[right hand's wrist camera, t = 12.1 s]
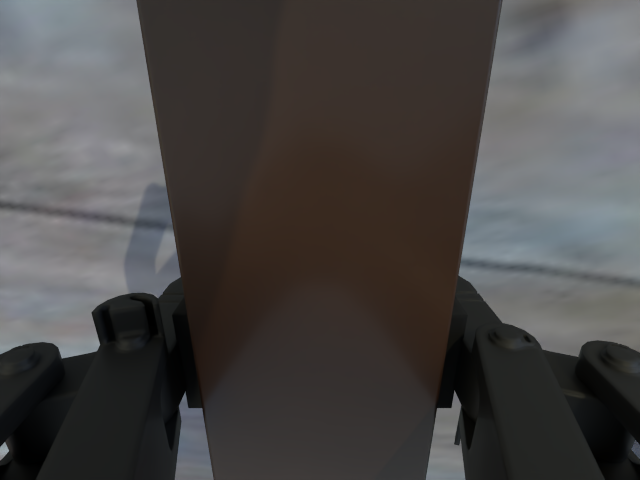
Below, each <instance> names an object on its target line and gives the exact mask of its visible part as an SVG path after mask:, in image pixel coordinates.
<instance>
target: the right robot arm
mask: <svg viewBox="0 0 640 480" xmlns="http://www.w3.org/2000/svg"><path fill="white" fill-rule="evenodd" d="M92 316H93V320H94V324H95V327H96V331H97V334H98V338H99V342H100V346H99V349H98V351H96V352H92V353H88V354H83V355H78V356H73V357H68V358H63V359H62V358H61V355H60V352H59V349H58V347H57V346H55V345H54V344H52V343H45V342H40V343H32V344H25V345H23V346H18V347H15V348H13V349H11V350H9V351H7V352H5V353H3V354H0V446H1V445H2V444H3V443H4V442H6V445H7V447H8V449H9V452H8V453H7V454H6V455H5V457H4V458H3V459H2V460H0V480H175V471H176V462H177V454H178V445H179V437H180V428H181V416H180V410H179V404H180V402H181V400H182V397H183V395H184V393H185V391H186V397H187V402H188V408H202V403H201V397H200V391H199V384H198V378H197V372H196V366H195V360H194V353H193V347H192V341H191V335H190V329H189V322H188V316H187V310H186V304H185V298H184V291H183V285H182V279H181V277H180V278H179V279H177V280H176V281H174V282H172V283H171V284H170V285H169V286H168V287H167V288H166V290H165V291H164V292H163V295H161V296H160V297H159V298H157V297H155V296H154V295H152V294H147V293H131V294H126V295H121V296H118V297H115V298H112V299H109V300H107V301H105V302H104V303H102V304H100V305H99V306H97V307H96V308H95V309H94V310H93V312H92ZM454 390H455V392H456V394H457V396H458V398H459V401H460V403H461V410H460V416H459V421H458V426H457V431H456V436H455V443H454V444H455V445H459V444H460V439H461V444H462V453H463V462H464V470H465V479H466V480H640V459H639V458H638V457H637V456H636V455H635V454H634V452H633V451H632V450H631V448H632V446H633V444H634V441H635V440H636V441H637V442H638V443H639V444H640V353H639V352H637V351H635V350H633V349H630V348H629V347H627V346H624V345H621V344H618V343H614V342H606V341H590V342H587V343H585V344H584V345H583V346H582V348H581V351H580V354H579V357H575V356H570V355H565V354H560V353H555V352H550V351H546V350H542V348H541V346H540V344H539V343H538V341H537V340H536V339H535V338H534V337H533V336H532V335H530V334H529V333H527V332H526V331H524V330H522V329H520V328H517V327H515V326H513V325H508V324H504V323H502V322H501V321H500V319H499V318H498V317H497V316H496V314H495V313H494V312H493V311H492V309H491V308H490V307H489V306H488V305H487V303H486V302H485V301H483V298H482V297H481V296H480V295H479V294H477V291H476V290H475V288H474V287H473V286H472V285H471V283H470V282H468V281H466V280H465V279H463V278H461V277H460V276H458V280H457V286H456V293H455V299H454V305H453V311H452V318H451V324H450V330H449V336H448V343H447V349H446V355H445V361H444V367H443V374H442V380H441V386H440V392H439V399H438V405H437V408H451V406H452V401H453V395H454Z"/></svg>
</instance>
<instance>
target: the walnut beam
mask: <svg viewBox="0 0 640 480" xmlns="http://www.w3.org/2000/svg"><path fill="white" fill-rule="evenodd" d="M136 1H137V7H138V13H139V19H140V25H141V31H142V38H143V44H144V50H145V56H146V62H147V69H148V75H149V81H150V87H151V93H152V100H153V106H154V112H155V118H156V124H157V131H158V137H159V143H160V149H161V155H162V161H163V168H164V174H165V180H166V186H167V192H168V199H169V205H170V211H171V217H172V223H173V230H174V236H175V242H176V248H177V254H178V261H179V267H180V273H181V279H182V285H183V291H184V298H185V304H186V310H187V316H188V322H189V329H190V335H191V341H192V347H193V353H194V360H195V366H196V372H197V378H198V384H199V391H200V397H201V403H202V409H203V415H204V421H205V428H206V434H207V440H208V446H209V452H210V459H211V465H212V471H213V477H214V480H426V473H427V467H428V461H429V455H430V448H431V442H432V436H433V430H434V424H435V417H436V411H437V405H438V399H439V392H440V386H441V380H442V374H443V367H444V361H445V355H446V349H447V343H448V336H449V330H450V324H451V318H452V311H453V305H454V299H455V293H456V286H457V280H458V274H459V268H460V262H461V255H462V249H463V243H464V237H465V230H466V224H467V218H468V212H469V205H470V199H471V193H472V187H473V181H474V174H475V168H476V162H477V156H478V149H479V143H480V137H481V131H482V124H483V118H484V112H485V106H486V100H487V93H488V87H489V81H490V75H491V68H492V62H493V56H494V50H495V43H496V37H497V31H498V25H499V19H500V12H501V6H502V0H136Z"/></svg>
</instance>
